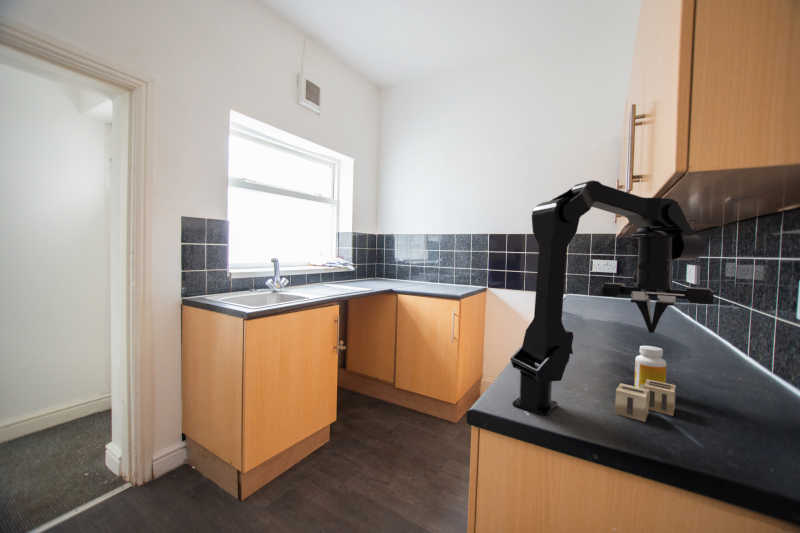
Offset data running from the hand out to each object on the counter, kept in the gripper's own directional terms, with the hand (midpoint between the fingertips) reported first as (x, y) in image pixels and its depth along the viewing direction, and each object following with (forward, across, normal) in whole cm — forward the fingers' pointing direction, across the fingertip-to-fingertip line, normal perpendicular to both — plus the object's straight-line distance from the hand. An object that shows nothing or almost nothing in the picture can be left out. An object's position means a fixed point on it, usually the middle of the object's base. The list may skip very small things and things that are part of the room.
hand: (651, 332), depth 71 cm
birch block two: (+13, -2, +8) cm, 16 cm away
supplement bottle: (+13, 0, 0) cm, 13 cm away
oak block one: (+13, +1, +14) cm, 20 cm away
